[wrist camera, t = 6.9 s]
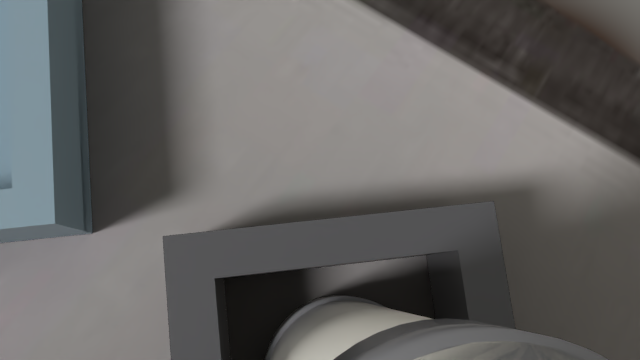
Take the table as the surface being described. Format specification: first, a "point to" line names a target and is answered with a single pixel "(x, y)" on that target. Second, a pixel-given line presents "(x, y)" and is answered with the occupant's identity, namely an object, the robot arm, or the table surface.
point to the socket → (331, 250)
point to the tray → (43, 121)
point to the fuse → (404, 336)
